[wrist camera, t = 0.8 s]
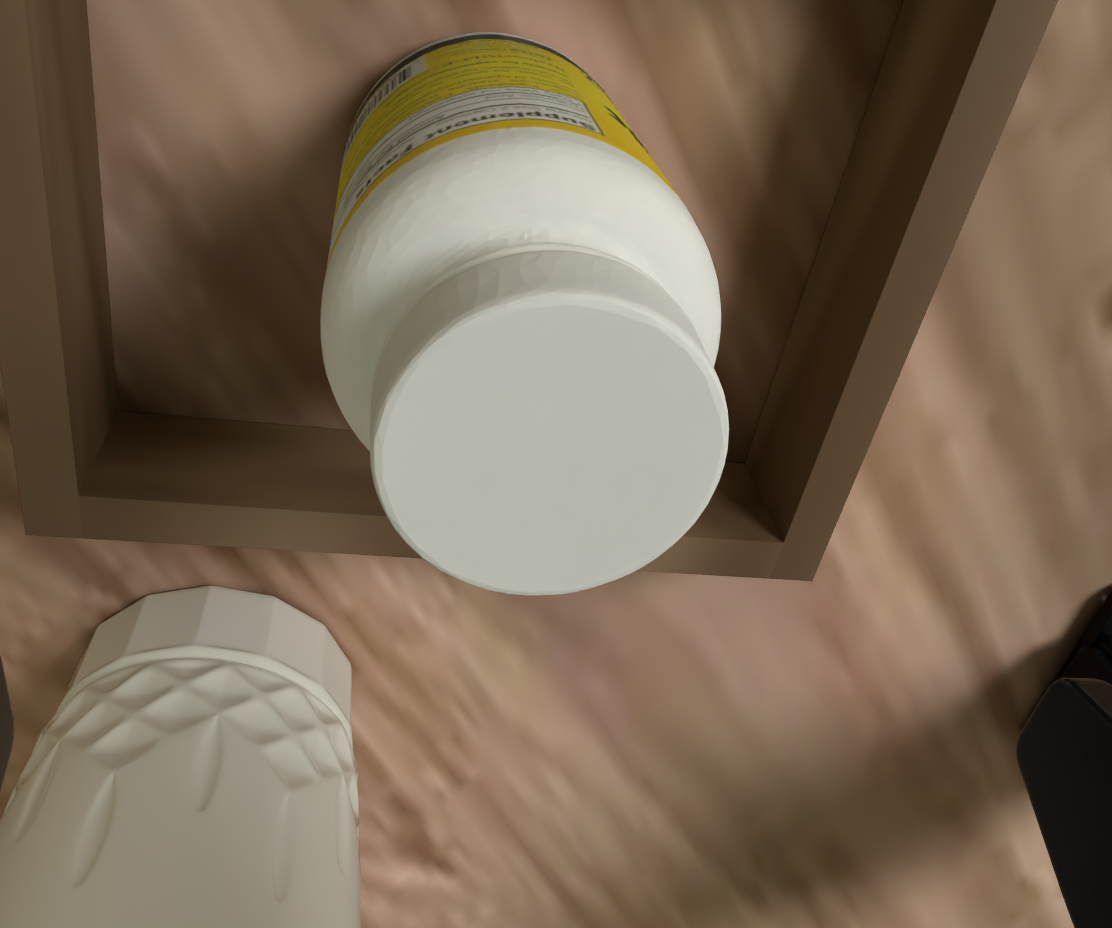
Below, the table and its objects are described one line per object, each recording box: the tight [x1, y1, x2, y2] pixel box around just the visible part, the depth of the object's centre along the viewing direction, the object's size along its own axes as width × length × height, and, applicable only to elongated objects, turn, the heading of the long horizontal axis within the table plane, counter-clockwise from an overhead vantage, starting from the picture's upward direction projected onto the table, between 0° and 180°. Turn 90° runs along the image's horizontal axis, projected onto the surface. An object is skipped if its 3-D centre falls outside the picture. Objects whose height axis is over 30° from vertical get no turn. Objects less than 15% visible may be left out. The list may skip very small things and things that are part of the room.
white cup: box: [0, 585, 361, 928], centre depth 21 cm, size 8×8×10 cm
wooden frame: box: [0, 0, 1058, 581], centre depth 17 cm, size 16×14×3 cm
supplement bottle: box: [320, 32, 729, 595], centre depth 15 cm, size 5×5×10 cm
